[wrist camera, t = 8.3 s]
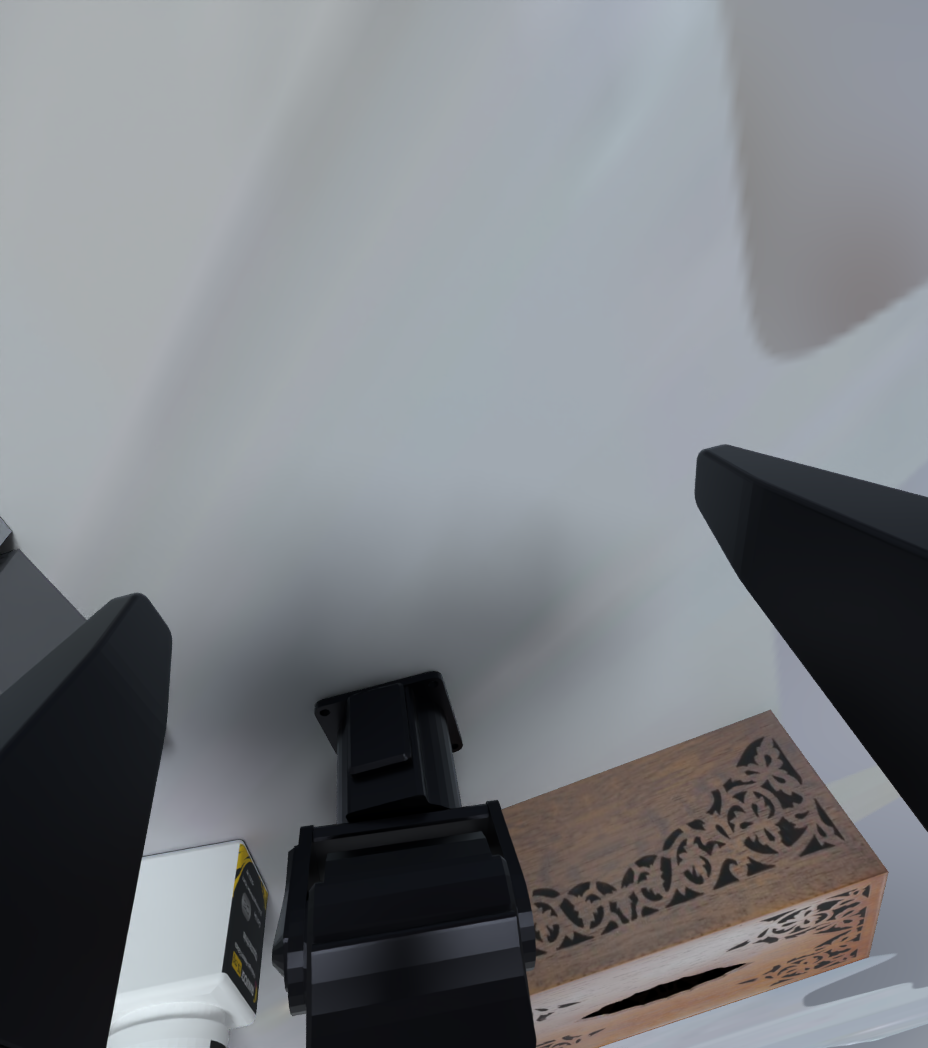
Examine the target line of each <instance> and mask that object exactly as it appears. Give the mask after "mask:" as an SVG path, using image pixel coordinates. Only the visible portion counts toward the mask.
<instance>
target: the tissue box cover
mask: <svg viewBox="0 0 928 1048" xmlns="http://www.w3.org/2000/svg"><path fill="white" fill-rule="evenodd" d="M502 813H503V816H504V819H505V822H506V825H507V828H508V831H509V834H510V837H511V840H512V843H513V845H514V848H515V851H516V854H517V857H518V860H519V863H520V866H521V869H522V872H523V875H524V879H525V882H526V885H527V890H528V894H529V898H530V903H531V909H532V915H533V921H534V929H535V939H536V962H535V967H534V969H533V970H531V971H526V974H527V980H528V987H529V994H530V1001H531V1007H532V1014H533V1021H534V1028H535V1033H536V1040H537V1043H536V1048H599V1047H601V1046H604V1045H607V1044H610V1043H613V1042H616V1041H619V1040H622V1039H625V1038H628V1037H631V1036H634V1035H637V1034H640V1033H643V1032H646V1031H649V1030H652V1029H655V1028H658V1027H661V1026H664V1025H667V1024H670V1023H673V1022H676V1021H679V1020H682V1019H685V1018H688V1017H691V1016H694V1015H697V1014H700V1013H703V1012H706V1011H709V1010H712V1009H715V1008H718V1007H721V1006H724V1005H727V1004H730V1003H733V1002H736V1001H739V1000H742V999H745V998H748V997H751V996H754V995H757V994H760V993H763V992H766V991H769V990H772V989H775V988H778V987H781V986H784V985H787V984H790V983H793V982H796V981H799V980H802V979H805V978H808V977H811V976H814V975H817V974H820V973H823V972H826V971H829V970H832V969H835V968H838V967H841V966H844V965H847V964H850V963H853V962H856V961H859V960H862V959H865V958H868V957H869V954H870V950H871V945H872V941H873V937H874V933H875V928H876V924H877V919H878V915H879V911H880V906H881V902H882V898H883V894H884V889H885V885H886V881H887V876H888V871H887V869H886V868H885V866H884V865H883V864H882V862H881V861H880V860H879V858H878V857H877V855H876V854H875V853H874V851H873V850H872V849H871V847H870V846H869V844H868V843H867V842H866V840H865V839H864V838H863V836H862V835H861V833H860V832H859V831H858V829H857V828H856V827H855V825H854V824H853V822H852V821H851V820H850V818H849V817H848V816H847V814H846V813H845V811H844V810H843V809H842V807H841V806H840V805H839V803H838V802H837V800H836V799H835V798H834V796H833V795H832V794H831V792H830V791H829V790H828V788H827V787H826V785H825V784H824V783H823V781H822V780H821V779H820V777H819V776H818V774H817V773H816V772H815V770H814V769H813V768H812V766H811V765H810V763H809V762H808V761H807V759H806V758H805V757H804V755H803V754H802V753H801V751H800V750H799V748H798V747H797V746H796V744H795V743H794V742H793V740H792V739H791V737H790V736H789V735H788V733H787V732H786V730H785V729H784V728H783V726H782V725H781V724H780V722H779V721H778V719H777V718H776V717H775V715H774V714H773V713H772V711H771V710H769V711H766V712H763V713H761V714H758V715H755V716H752V717H750V718H747V719H744V720H742V721H739V722H736V723H734V724H731V725H728V726H726V727H723V728H720V729H717V730H715V731H712V732H709V733H707V734H704V735H701V736H699V737H696V738H693V739H691V740H688V741H685V742H682V743H680V744H677V745H674V746H672V747H669V748H666V749H664V750H661V751H658V752H655V753H653V754H650V755H647V756H645V757H642V758H639V759H637V760H634V761H631V762H629V763H626V764H623V765H620V766H618V767H615V768H612V769H610V770H607V771H604V772H602V773H599V774H596V775H593V776H591V777H588V778H585V779H583V780H580V781H577V782H575V783H572V784H569V785H567V786H564V787H561V788H558V789H556V790H553V791H550V792H548V793H545V794H542V795H540V796H537V797H534V798H532V799H529V800H526V801H523V802H521V803H518V804H515V805H513V806H510V807H507V808H505V809H502Z"/></svg>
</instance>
